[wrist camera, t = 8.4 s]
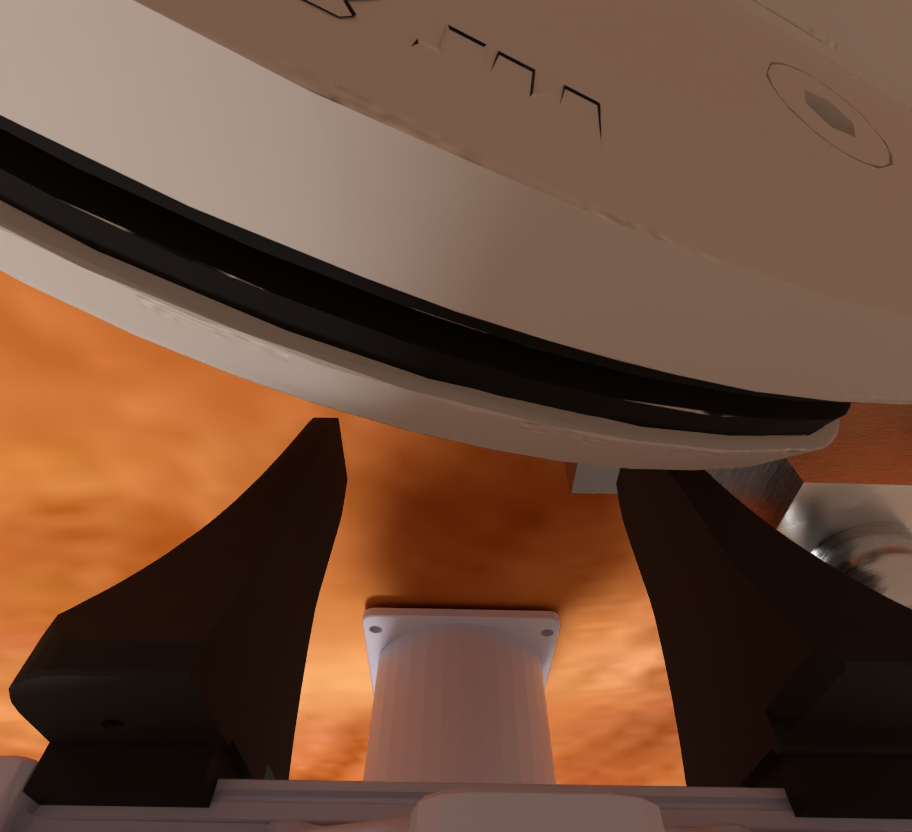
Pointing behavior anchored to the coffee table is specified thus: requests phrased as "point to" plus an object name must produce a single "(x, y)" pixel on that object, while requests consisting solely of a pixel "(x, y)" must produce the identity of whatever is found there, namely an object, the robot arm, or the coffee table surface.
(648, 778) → the coffee table surface
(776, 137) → the grey rounded housing
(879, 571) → the block
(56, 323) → the coffee table surface
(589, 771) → the coffee table surface
